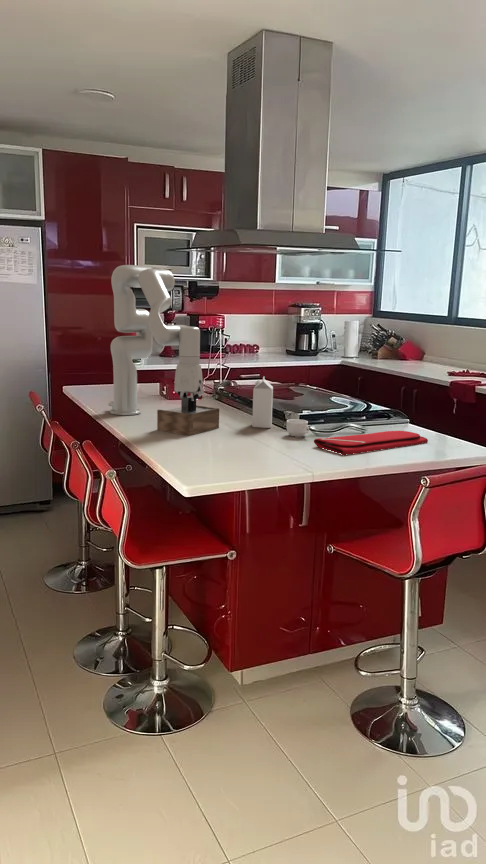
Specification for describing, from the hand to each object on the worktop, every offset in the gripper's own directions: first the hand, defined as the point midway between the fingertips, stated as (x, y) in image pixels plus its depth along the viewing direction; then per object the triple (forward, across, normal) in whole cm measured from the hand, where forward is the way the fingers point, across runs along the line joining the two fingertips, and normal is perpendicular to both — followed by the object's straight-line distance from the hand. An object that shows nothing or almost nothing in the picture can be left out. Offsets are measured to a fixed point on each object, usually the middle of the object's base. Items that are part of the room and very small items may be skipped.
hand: (188, 409), depth 256 cm
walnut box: (+7, 0, 0) cm, 7 cm away
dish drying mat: (+8, +64, +21) cm, 68 cm away
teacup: (+8, +38, +16) cm, 42 cm away
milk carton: (+7, +18, +23) cm, 30 cm away
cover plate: (+1, 0, 0) cm, 1 cm away
